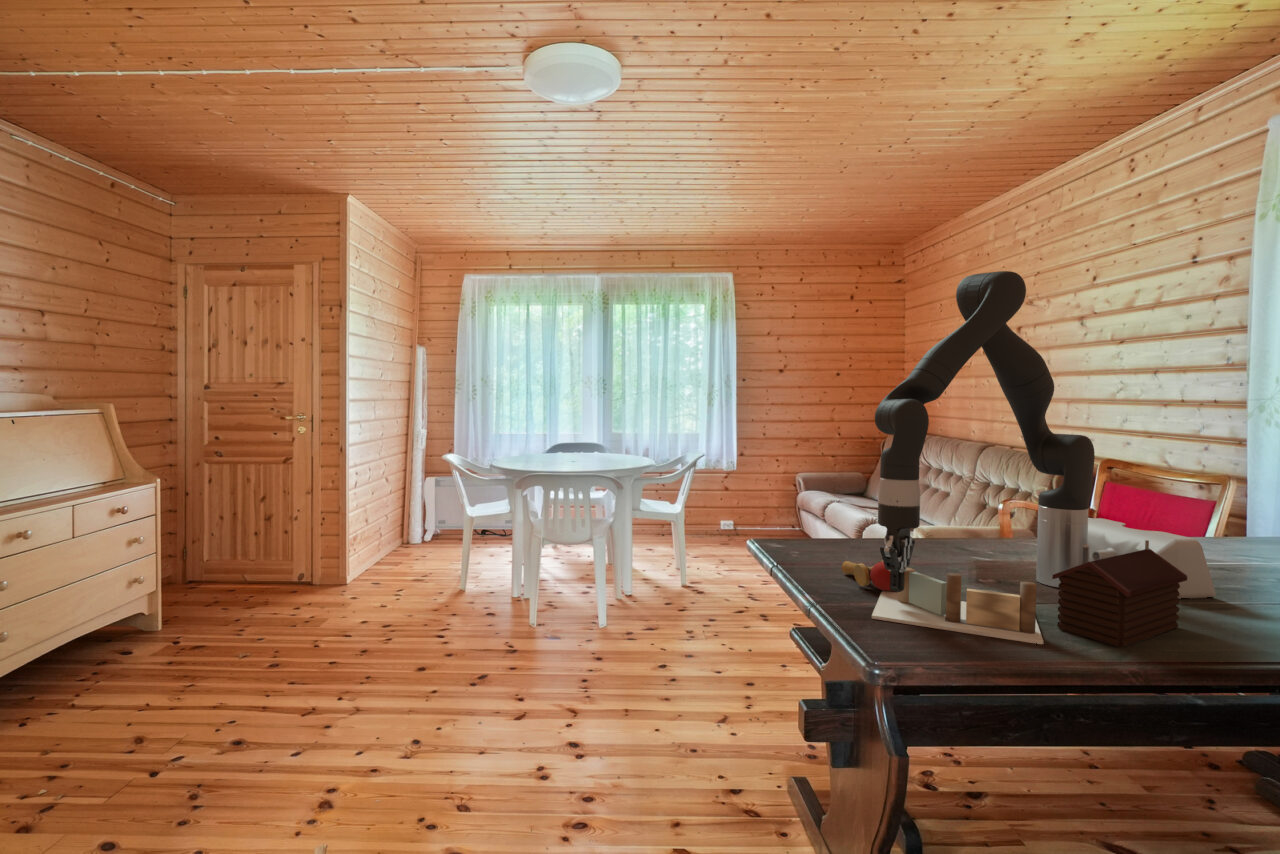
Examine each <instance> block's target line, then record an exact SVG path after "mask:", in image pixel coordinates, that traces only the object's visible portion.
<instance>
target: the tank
mask: <svg viewBox="0 0 1280 854" xmlns="http://www.w3.org/2000/svg"><path fill="white" fill-rule="evenodd" d="M1145 540H1148V541H1149V549H1151V550H1152V551H1154V552H1155V553H1156V554H1158V555H1159V556H1161V557H1162V558H1163V559H1165V560H1166V561H1168V562H1169V563H1170V564H1172V565H1173V566H1175V567H1176V568H1177V569H1179V570H1180V571H1181V572H1183V573H1184V574H1186V575H1187V581H1183V582H1180V583H1179V585H1180V588H1179V589H1177V590H1178V591H1179V593H1180V595H1179V596H1178V600H1182V599H1181V598H1190V599H1207V597H1213V598H1215V597H1216V590H1215V586H1214V584H1213V581H1212V576H1211V573H1210V570H1209V566H1208V562H1207V559H1206V556H1205V553H1204V549H1203V545H1202V544H1201V542H1199V541H1198V540H1197V539H1196V538H1193V537H1189V536H1185V535H1180V534H1174V533H1170V532H1165V531H1160V530H1143V529H1136V528H1130V527H1126V523H1124V522H1121V521H1117V520H1116V521H1115V520H1110V519H1106V518H1103V517H1102V518H1101V517H1099V518H1098V517H1095V518H1093V517H1092V518H1091V517H1090V518H1088V542H1087V544H1088V545H1089V562H1091V561H1095V560H1100V559H1104V558H1109V557H1113V556H1118V555H1122V554H1127V553H1131V552H1136V551H1140V550H1145Z"/></svg>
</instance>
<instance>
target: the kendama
mask: <svg viewBox="0 0 1280 854" xmlns="http://www.w3.org/2000/svg"><path fill="white" fill-rule="evenodd" d="M841 571H842V572H843V574H845V575H853V576H854V579H855V581H856V582H857V584H858V585H859V586H861V587H866V586H869V585H870V583H872V585H874V586H875V588H876V589H878V590H881V591H888V592H893V591H892V590H891V589H890V571H889V570H888V569H886V568H885V565H884V562H883V560H879V561H878V562H877V563H875V564H874V565H872V566H867V565H865V564H864V563H860V562H859V563H855V562H851V561H849V560H845V561H844V562H843V563H842V564H841Z"/></svg>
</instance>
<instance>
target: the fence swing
mask: <svg viewBox="0 0 1280 854" xmlns="http://www.w3.org/2000/svg"><path fill="white" fill-rule="evenodd" d="M906 568H907V569H906V571H904V590H903V591H901V592H897V593H898V595H897V599H898V600H899V601H902V602H909V603H911V604H914V605H916V606H919V607H921V608H924V609H926V610H929V611H931V612H933V613H936V614H938V615H946V582H947V581H944V580H940V579H937V578H934V577H932V576H929V575H926V574H923V573H920V572H917V571H916V569H914V568H911V567H906Z"/></svg>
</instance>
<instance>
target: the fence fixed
mask: <svg viewBox="0 0 1280 854" xmlns="http://www.w3.org/2000/svg"><path fill="white" fill-rule="evenodd" d="M945 582H946V620H947V621H950V622H960V618H961V601H962V575H961V574H960V573H954V572H947V573H946V581H945ZM1037 587H1038V586H1037V583H1035V582H1032V581H1026V580H1025V581H1020V582H1019V594H1015V593H1007V592H1006V593H1005V592H999V591H998V592H997V591H990V590H983V589H974V588H966V601H965V602H966V623H968V624H975V625H982V626H988V627H995V628H1002V629H1009V630H1016V631H1019V630H1020V631H1021V632H1025V633H1030V634H1034V633H1035V623H1036V621H1037V618H1036V615H1037V614H1036V613H1037V612H1036V611H1037Z"/></svg>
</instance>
